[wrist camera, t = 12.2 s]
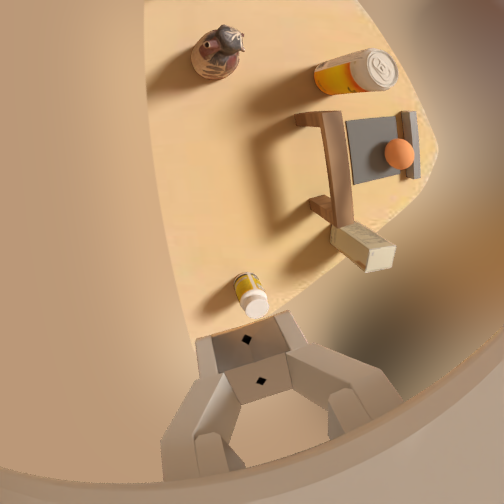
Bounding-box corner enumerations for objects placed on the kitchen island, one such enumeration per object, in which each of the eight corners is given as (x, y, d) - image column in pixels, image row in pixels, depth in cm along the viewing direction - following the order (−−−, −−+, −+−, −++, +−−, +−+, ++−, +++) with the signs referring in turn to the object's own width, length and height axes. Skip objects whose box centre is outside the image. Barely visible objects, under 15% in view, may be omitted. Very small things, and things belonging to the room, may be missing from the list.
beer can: (332, 102, 41) (389, 99, 28) (305, 80, 39) (356, 68, 25) (348, 77, 39) (406, 69, 26) (322, 56, 37) (376, 38, 24)
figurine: (243, 72, 36) (266, 54, 26) (199, 86, 36) (205, 71, 25) (229, 34, 33) (245, 5, 22) (184, 47, 32) (185, 21, 22)
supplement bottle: (231, 292, 52) (240, 320, 45) (235, 270, 51) (245, 297, 43) (255, 293, 54) (268, 320, 46) (260, 272, 52) (274, 297, 45)
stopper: (401, 111, 44) (409, 111, 42) (407, 110, 44) (415, 111, 42) (406, 176, 51) (414, 179, 48) (412, 175, 51) (420, 177, 49)
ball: (405, 136, 46) (378, 139, 47) (417, 138, 40) (388, 140, 42) (409, 165, 48) (382, 168, 49) (421, 170, 42) (392, 173, 44)
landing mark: (345, 121, 43) (346, 121, 43) (394, 116, 44) (395, 116, 44) (353, 184, 49) (354, 184, 48) (399, 173, 50) (400, 173, 50)
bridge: (310, 209, 49) (337, 228, 40) (294, 114, 41) (321, 113, 32) (325, 205, 49) (354, 223, 41) (310, 111, 41) (341, 110, 33)
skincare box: (328, 243, 53) (363, 274, 42) (331, 222, 51) (367, 249, 40) (356, 240, 54) (392, 268, 44) (358, 220, 52) (397, 245, 42)
